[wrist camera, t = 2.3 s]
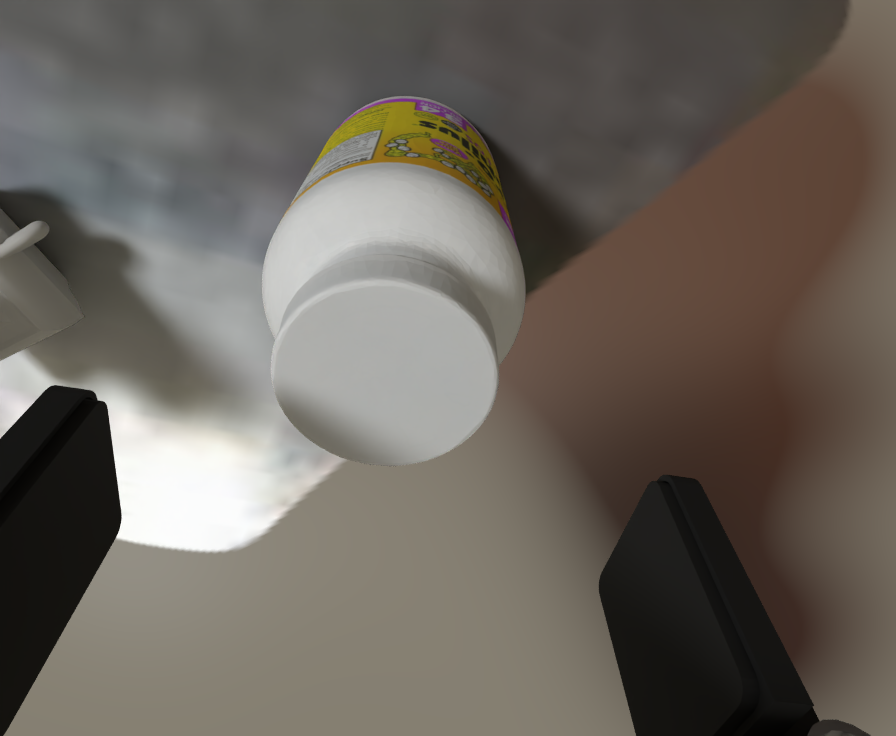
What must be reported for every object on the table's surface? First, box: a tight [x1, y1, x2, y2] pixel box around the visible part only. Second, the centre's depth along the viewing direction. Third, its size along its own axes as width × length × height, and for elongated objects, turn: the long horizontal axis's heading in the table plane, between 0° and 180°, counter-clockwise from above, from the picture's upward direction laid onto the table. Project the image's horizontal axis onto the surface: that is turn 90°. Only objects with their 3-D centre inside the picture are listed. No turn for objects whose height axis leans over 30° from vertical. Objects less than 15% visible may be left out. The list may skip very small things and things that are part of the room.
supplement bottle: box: [262, 96, 526, 466], centre depth 18 cm, size 7×7×13 cm
